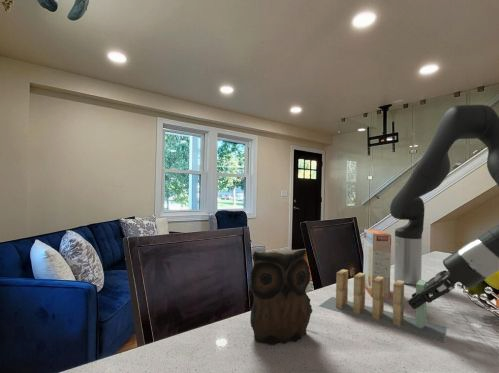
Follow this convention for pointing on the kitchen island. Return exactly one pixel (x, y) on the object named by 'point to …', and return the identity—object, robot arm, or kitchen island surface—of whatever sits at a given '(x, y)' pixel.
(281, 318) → the owl
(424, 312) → the domino
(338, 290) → the domino
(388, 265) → the cracker box
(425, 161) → the robot arm
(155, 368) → the kitchen island surface
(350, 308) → the mat
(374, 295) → the domino
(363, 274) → the domino
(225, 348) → the kitchen island surface
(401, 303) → the domino
